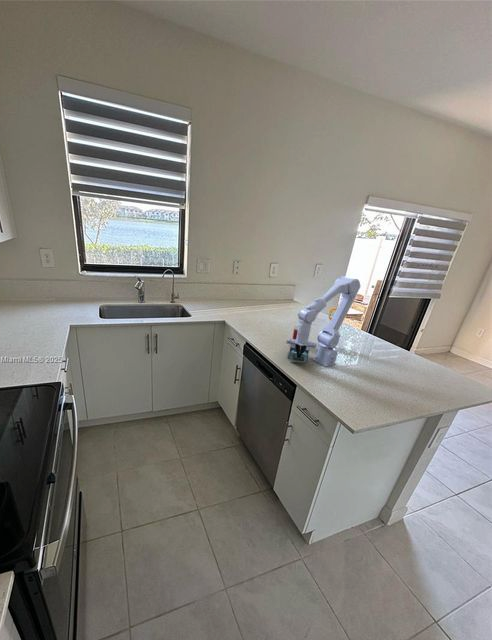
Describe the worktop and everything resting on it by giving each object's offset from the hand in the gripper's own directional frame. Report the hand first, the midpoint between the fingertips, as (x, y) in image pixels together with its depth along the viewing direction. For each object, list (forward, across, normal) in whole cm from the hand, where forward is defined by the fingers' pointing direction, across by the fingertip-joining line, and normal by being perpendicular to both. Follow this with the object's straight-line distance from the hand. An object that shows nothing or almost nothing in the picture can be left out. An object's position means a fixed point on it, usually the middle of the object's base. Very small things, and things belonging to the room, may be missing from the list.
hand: (298, 358), depth 147 cm
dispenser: (+3, 0, +10) cm, 11 cm away
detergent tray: (+3, 0, +4) cm, 5 cm away
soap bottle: (+4, +17, +33) cm, 37 cm away
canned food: (+4, 0, +28) cm, 28 cm away
